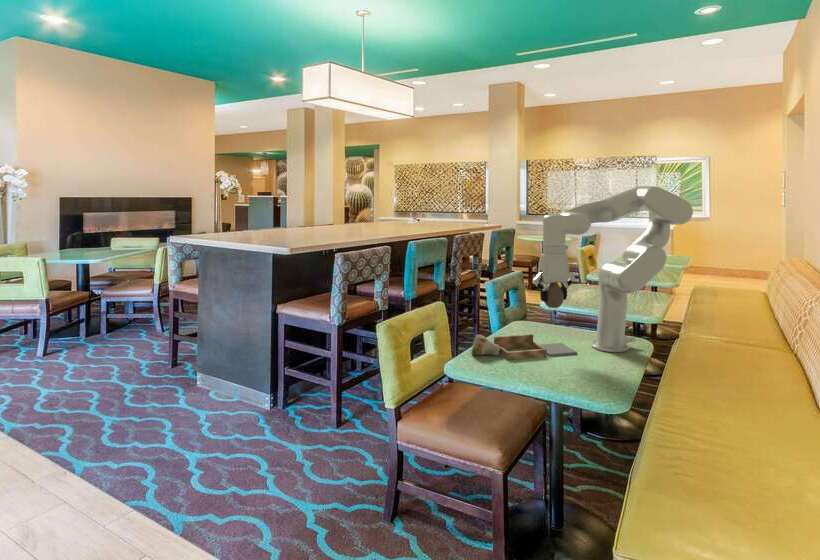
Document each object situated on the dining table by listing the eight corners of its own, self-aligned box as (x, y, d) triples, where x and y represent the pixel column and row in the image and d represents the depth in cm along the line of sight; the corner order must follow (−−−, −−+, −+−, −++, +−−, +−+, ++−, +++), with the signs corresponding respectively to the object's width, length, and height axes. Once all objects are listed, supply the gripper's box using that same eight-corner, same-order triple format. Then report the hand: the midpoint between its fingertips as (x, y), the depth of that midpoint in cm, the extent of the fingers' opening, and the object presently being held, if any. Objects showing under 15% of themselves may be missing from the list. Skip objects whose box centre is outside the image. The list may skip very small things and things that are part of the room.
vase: (551, 310, 182) (551, 285, 180) (539, 306, 188) (539, 282, 187) (567, 307, 185) (568, 283, 183) (555, 303, 191) (555, 279, 189)
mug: (502, 359, 181) (489, 335, 178) (477, 368, 184) (464, 345, 182) (503, 347, 187) (491, 325, 185) (478, 356, 191) (466, 334, 188)
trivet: (560, 345, 196) (560, 342, 196) (577, 354, 186) (577, 351, 186) (533, 347, 194) (534, 344, 194) (549, 356, 183) (549, 354, 183)
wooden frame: (531, 347, 193) (532, 334, 193) (546, 356, 183) (547, 342, 182) (493, 350, 190) (494, 336, 189) (506, 359, 179) (507, 345, 178)
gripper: (570, 247, 188) (569, 295, 192) (526, 250, 184) (526, 300, 187) (582, 249, 181) (581, 299, 185) (536, 253, 177) (536, 305, 180)
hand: (553, 299), depth 186 cm, fingers closed on vase, 6 cm apart
